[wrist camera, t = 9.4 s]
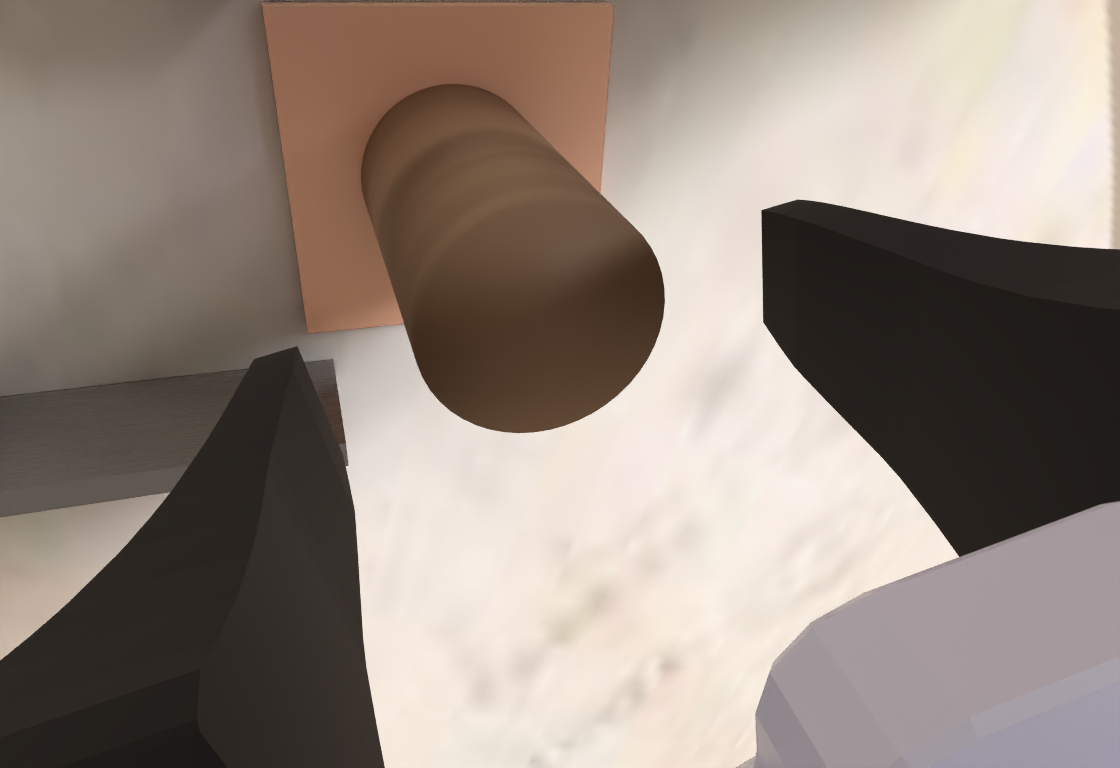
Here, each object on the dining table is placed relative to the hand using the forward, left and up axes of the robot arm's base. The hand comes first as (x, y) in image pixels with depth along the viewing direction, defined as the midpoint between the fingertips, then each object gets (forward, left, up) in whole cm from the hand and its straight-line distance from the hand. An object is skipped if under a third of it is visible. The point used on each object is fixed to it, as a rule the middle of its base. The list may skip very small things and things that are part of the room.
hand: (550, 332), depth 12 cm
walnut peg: (0, 0, -7) cm, 7 cm away
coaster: (0, 0, -8) cm, 8 cm away
